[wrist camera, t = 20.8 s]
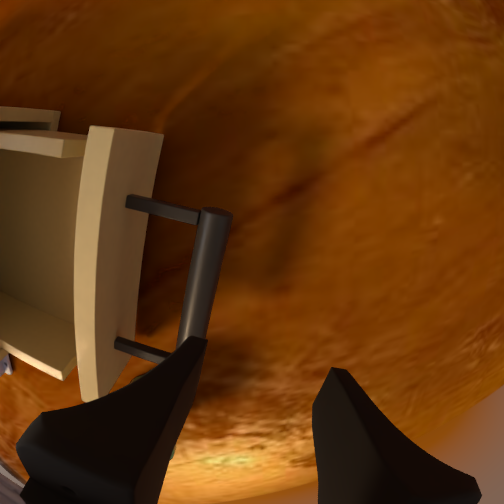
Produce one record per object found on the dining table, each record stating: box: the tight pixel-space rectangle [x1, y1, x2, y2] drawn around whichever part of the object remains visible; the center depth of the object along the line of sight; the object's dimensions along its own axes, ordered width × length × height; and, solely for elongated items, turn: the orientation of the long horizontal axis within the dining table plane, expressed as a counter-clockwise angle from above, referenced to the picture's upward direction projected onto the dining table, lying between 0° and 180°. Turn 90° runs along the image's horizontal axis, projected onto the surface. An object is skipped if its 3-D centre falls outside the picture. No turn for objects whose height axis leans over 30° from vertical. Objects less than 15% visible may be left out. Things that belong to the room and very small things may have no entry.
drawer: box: [0, 125, 233, 402], centre depth 15 cm, size 18×14×6 cm
